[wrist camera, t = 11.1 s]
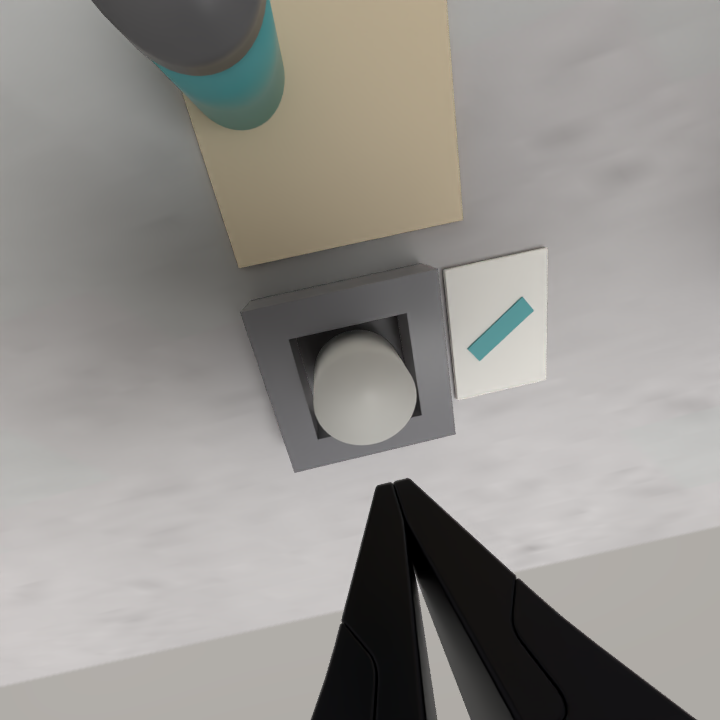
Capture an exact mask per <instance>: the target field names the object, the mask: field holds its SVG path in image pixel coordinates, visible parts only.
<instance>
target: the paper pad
mask: <svg viewBox="0 0 720 720" xmlns="http://www.w3.org/2000/svg"><path fill="white" fill-rule="evenodd" d="M270 3H271V8H272V13H273V18H274V23H275V27H276V32H277V37H278V42H279V46H280V51H281V56H282V61H283V66H284V76H285V81H284V91H283V95H282V99H281V102H280V104H279V106H278V108H277V110H276V111H275V113H274V114H273V115H272V117H271V118H270V119H269V120H268V121H266V122H265V123H264V124H262V125H260V126H258V127H256V128H253V129H250V130H233V129H229V128H225V127H223V126H221V125H219V124H217V123H215V122H214V121H212V120H211V119H209V118H208V117H207V116H206V115H205V114H204V113H203V112H202V111H201V110H200V109H199V108H198V107H197V106H196V105H195V104H194V103H193V102H192V101H191V100H190V99H189V98H188V97H187V96H186V95H185V94H184V93H183V92H182V94H183V97H184V100H185V104H186V107H187V110H188V113H189V116H190V119H191V122H192V125H193V128H194V131H195V134H196V137H197V141H198V144H199V147H200V150H201V153H202V156H203V159H204V162H205V165H206V168H207V171H208V175H209V178H210V181H211V184H212V187H213V190H214V193H215V196H216V199H217V202H218V205H219V209H220V212H221V215H222V218H223V221H224V224H225V227H226V230H227V233H228V236H229V239H230V243H231V246H232V249H233V252H234V255H235V258H236V261H237V264H238V267H239V268H243V267H247V266H252V265H257V264H261V263H266V262H271V261H275V260H280V259H285V258H289V257H294V256H299V255H303V254H308V253H312V252H317V251H322V250H326V249H331V248H336V247H340V246H345V245H350V244H354V243H359V242H364V241H368V240H373V239H378V238H382V237H387V236H391V235H396V234H401V233H405V232H410V231H415V230H419V229H424V228H429V227H433V226H438V225H443V224H447V223H452V222H456V221H461V220H463V212H462V198H461V185H460V172H459V158H458V145H457V132H456V119H455V105H454V92H453V79H452V66H451V52H450V39H449V26H448V13H447V0H270Z"/></svg>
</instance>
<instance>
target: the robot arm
mask: <svg viewBox="0 0 720 720" xmlns="http://www.w3.org/2000/svg"><path fill="white" fill-rule="evenodd" d="M415 574H416V576H415ZM416 578H417V581H418V584H419V586H420V589H421V592H422V594H423V597H424V599H425V602H426V605H427V607H428V610H429V613H430V615H431V618H432V620H433V623H434V626H435V628H436V631H437V633H438V636H439V638H440V641H441V644H442V646H443V649H444V651H445V654H446V657H447V659H448V662H449V664H450V667H451V669H452V672H453V675H454V677H455V680H456V682H457V685H458V687H459V690H460V693H461V695H462V698H463V701H464V703H465V706H466V708H467V711H468V714H469V716H470V719H471V720H696V719H695V718H694V717H692V716H691V715H690V714H688V713H687V712H686V711H684V710H683V709H681V708H680V707H679V706H678V705H676V704H675V703H674V702H672V701H671V700H670V699H668V698H667V697H666V696H664V695H663V694H662V693H661V692H659V691H658V690H657V689H655V688H654V687H653V686H651V685H650V684H649V683H648V682H646V681H645V680H644V679H642V678H641V677H640V676H638V675H637V674H636V673H634V672H633V671H632V670H630V669H629V668H628V667H626V666H625V665H624V664H623V663H621V662H620V661H618V660H617V659H616V658H615V657H613V656H612V655H611V654H609V653H608V652H607V651H605V650H604V649H603V648H602V647H600V646H599V645H597V644H596V643H595V642H594V641H592V640H591V639H590V638H589V637H587V636H586V635H585V634H584V633H582V632H581V631H580V630H579V629H577V628H576V627H575V626H573V625H572V624H571V623H570V622H568V621H567V620H566V619H565V618H563V617H562V616H561V615H560V614H559V613H558V612H556V611H555V610H554V609H553V608H552V607H551V606H549V605H548V604H547V603H546V602H545V601H544V600H543V599H541V598H540V597H539V596H538V595H537V594H536V593H535V592H534V591H532V590H531V589H530V588H529V587H528V586H527V585H526V584H525V583H524V582H523V581H521V580H520V579H516V575H515V574H514V573H513V572H511V571H510V570H509V569H508V568H507V567H506V566H505V565H504V564H503V563H502V562H500V561H499V560H498V559H497V558H496V557H495V556H494V555H493V554H492V553H491V552H490V551H488V550H487V549H486V548H485V547H484V546H483V545H482V544H481V543H480V542H479V541H478V540H476V539H475V538H474V537H473V536H472V535H471V534H470V533H469V532H468V531H467V530H465V529H464V528H463V527H462V526H461V525H460V524H459V523H458V522H457V521H456V520H455V519H453V518H452V517H451V516H450V515H449V514H448V513H447V512H446V511H445V510H444V509H442V508H441V507H440V506H439V505H438V504H437V503H436V502H435V501H434V500H433V499H432V498H430V497H429V496H428V495H427V494H426V493H425V492H424V491H423V490H422V489H421V488H419V487H418V486H417V485H416V484H415V483H414V482H413V481H412V480H411V479H409V478H406V479H402V480H397V481H395V482H394V483H393V484H392V483H391V482H389V483H385V484H381V485H378V486H377V487H376V489H375V492H374V496H373V500H372V504H371V508H370V512H369V515H368V519H367V523H366V527H365V531H364V535H363V539H362V542H361V546H360V550H359V554H358V558H357V562H356V566H355V569H354V573H353V577H352V581H351V585H350V589H349V593H348V596H347V600H346V604H345V608H344V612H343V616H342V624H340V627H339V630H338V634H337V638H336V642H335V646H334V649H333V653H332V656H331V660H330V663H329V667H328V671H327V673H326V677H325V680H324V683H323V686H322V689H321V692H320V695H319V698H318V701H317V703H316V707H315V709H314V712H313V715H312V718H311V720H437V715H436V708H435V701H434V694H433V688H432V681H431V674H430V668H429V661H428V654H427V647H426V641H425V634H424V627H423V621H422V614H421V607H420V600H419V594H418V587H417V582H416Z"/></svg>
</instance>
